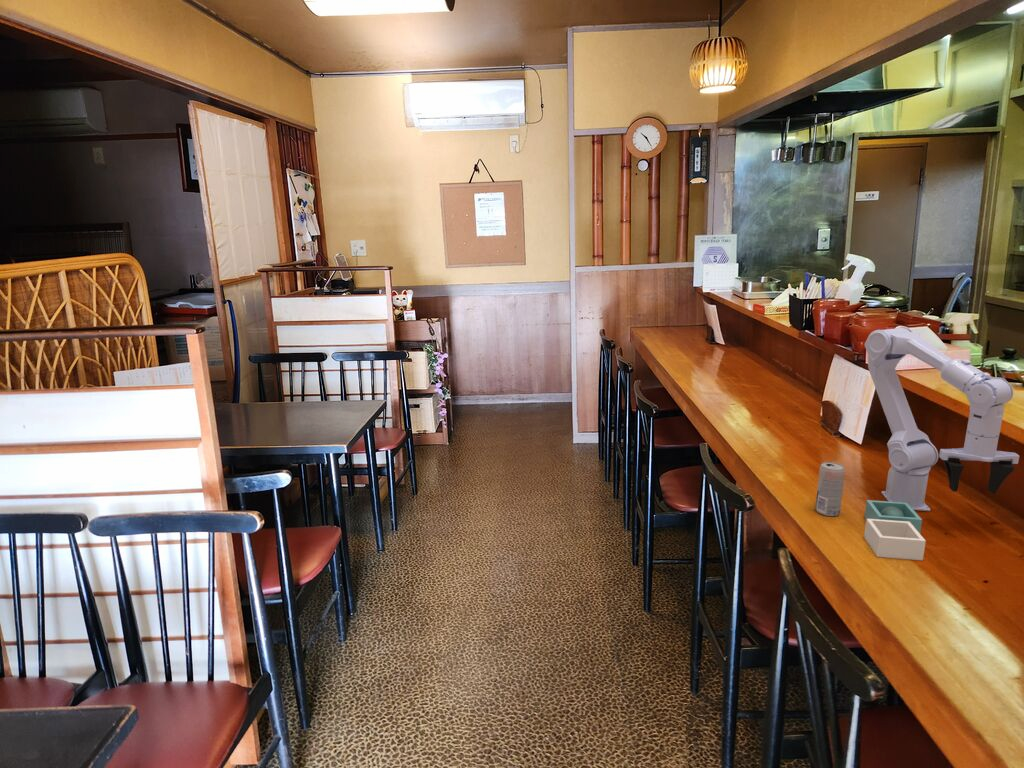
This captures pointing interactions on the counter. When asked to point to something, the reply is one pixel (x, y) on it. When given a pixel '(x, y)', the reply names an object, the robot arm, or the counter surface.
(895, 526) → the shallow white tray
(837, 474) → the energy drink
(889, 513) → the teal ball
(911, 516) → the teal open square box
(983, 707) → the counter surface
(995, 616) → the counter surface
